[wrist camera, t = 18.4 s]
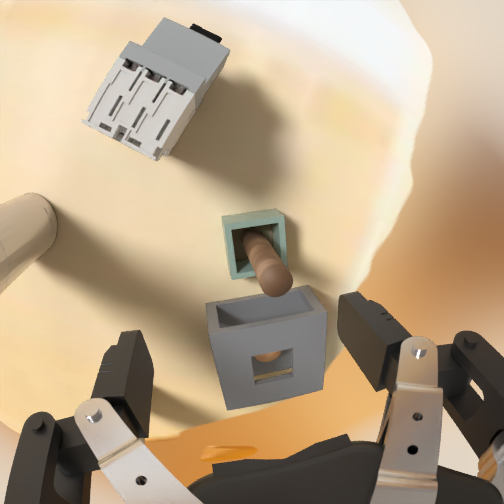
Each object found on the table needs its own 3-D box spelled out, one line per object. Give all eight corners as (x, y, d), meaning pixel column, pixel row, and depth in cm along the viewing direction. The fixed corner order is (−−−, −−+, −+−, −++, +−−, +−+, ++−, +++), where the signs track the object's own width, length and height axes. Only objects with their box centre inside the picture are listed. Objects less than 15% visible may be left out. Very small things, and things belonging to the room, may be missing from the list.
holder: (228, 267, 43) (231, 280, 40) (221, 216, 41) (223, 224, 37) (280, 259, 44) (287, 270, 41) (276, 208, 41) (284, 215, 38)
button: (251, 352, 48) (255, 364, 45) (249, 332, 47) (252, 343, 44) (277, 347, 49) (282, 358, 46) (276, 326, 47) (280, 337, 44)
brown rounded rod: (242, 250, 43) (262, 299, 30) (239, 228, 42) (259, 271, 29) (264, 246, 43) (293, 293, 30) (262, 225, 42) (292, 265, 29)
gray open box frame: (222, 377, 51) (227, 410, 43) (205, 303, 45) (208, 334, 37) (308, 360, 53) (322, 389, 45) (307, 285, 47) (327, 311, 39)
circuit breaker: (227, 63, 33) (246, 23, 19) (169, 154, 36) (153, 163, 23) (179, 38, 31) (172, -12, 17) (121, 129, 34) (79, 125, 20)
